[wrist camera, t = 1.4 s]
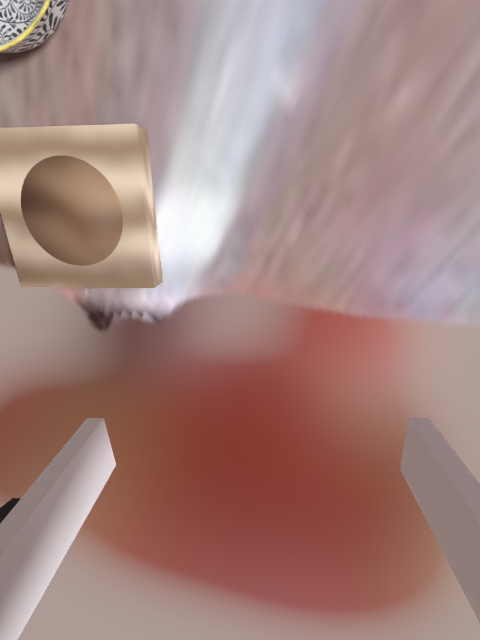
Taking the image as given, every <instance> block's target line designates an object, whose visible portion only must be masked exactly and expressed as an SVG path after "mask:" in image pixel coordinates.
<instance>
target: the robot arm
mask: <svg viewBox="0 0 480 640" xmlns="http://www.w3.org/2000/svg"><path fill="white" fill-rule="evenodd" d="M115 466H116V463H115V460H114V456H113V452H112V448H111V445H110V441H109V437H108V433H107V430H106V427H105V422H104V419H103V418H87V419H86V420H85V422H84V423H83V424H82V425H81V426H80V428H79V429H78V430H77V431H76V433H75V434H74V435H73V436H72V437H71V438H70V440H69V441H68V442H67V443H66V445H65V446H64V447H63V448H62V449H61V451H60V452H59V453H58V454H57V455H56V457H55V458H54V459H53V460H52V462H51V463H50V464H49V465H48V467H47V468H46V469H45V470H44V471H43V473H42V474H41V475H40V476H39V477H38V479H37V480H36V481H35V482H34V483H33V485H32V486H31V487H30V488H29V490H28V491H27V492H26V493H25V494H24V496H23V497H22V498H21V499H19V498H12V499H11V500H10V501H9V502H7V503H6V504H5V505H4V506H2V507H1V508H0V640H17V639H18V637H19V636H20V634H21V632H22V630H23V629H24V627H25V625H26V623H27V622H28V620H29V618H30V616H31V614H32V613H33V611H34V609H35V607H36V606H37V604H38V602H39V600H40V599H41V597H42V595H43V593H44V592H45V589H46V588H47V586H48V584H49V583H50V581H51V579H52V577H53V576H54V574H55V572H56V570H57V569H58V567H59V565H60V563H61V561H62V560H63V558H64V556H65V554H66V553H67V551H68V549H69V547H70V546H71V544H72V542H73V540H74V538H75V537H76V535H77V533H78V531H79V530H80V528H81V526H82V524H83V523H84V521H85V519H86V517H87V515H88V514H89V512H90V510H91V508H92V507H93V505H94V503H95V501H96V500H97V497H98V496H99V494H100V492H101V491H102V489H103V487H104V485H105V483H106V482H107V480H108V478H109V477H110V474H111V473H112V471H113V469H114V468H115ZM400 469H401V471H402V473H403V475H404V477H405V479H406V481H407V483H408V485H409V487H410V489H411V491H412V493H413V495H414V496H415V498H416V500H417V502H418V504H419V506H420V508H421V510H422V512H423V514H424V516H425V518H426V520H427V522H428V524H429V525H430V527H431V529H432V531H433V533H434V535H435V537H436V539H437V541H438V543H439V545H440V547H441V549H442V550H443V552H444V554H445V556H446V558H447V560H448V562H449V564H450V566H451V568H452V570H453V572H454V574H455V576H456V578H457V579H458V581H459V583H460V585H461V587H462V589H463V591H464V593H465V595H466V597H467V599H468V601H469V603H470V605H471V606H472V608H473V610H474V612H475V614H476V616H477V618H478V620H479V622H480V484H479V482H478V481H477V480H476V479H475V477H474V476H473V475H472V474H471V472H470V471H469V470H468V468H467V467H466V466H465V464H464V463H463V462H462V461H461V459H460V458H459V457H458V455H457V454H456V453H455V452H454V450H453V449H452V448H451V446H450V445H449V444H448V443H447V441H446V440H445V439H444V437H443V436H442V435H441V433H440V432H439V431H438V430H437V428H436V427H435V426H434V424H433V423H432V422H431V421H430V419H429V418H409V421H408V427H407V433H406V438H405V444H404V450H403V456H402V461H401V467H400Z"/></svg>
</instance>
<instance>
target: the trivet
mask: <svg viewBox="0 0 480 640" xmlns="http://www.w3.org/2000/svg"><path fill="white" fill-rule="evenodd" d="M0 213H1V216H2V220H3V224H4V227H5V231H6V234H7V238H8V242H9V245H10V249H11V252H12V256H13V260H14V263H15V267H16V270H17V274H18V277H19V281H20V284H21V287H104V288H155V287H156V286H157V285H159V284H160V283H161V282H162V273H161V263H160V254H159V244H158V235H157V225H156V216H155V206H154V196H153V187H152V177H151V168H150V158H149V149H148V139H147V131H146V130H144V129H143V128H141V127H140V126H138V125H136V124H111V125H78V126H46V127H14V128H0Z"/></svg>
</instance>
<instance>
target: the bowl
mask: <svg viewBox="0 0 480 640" xmlns="http://www.w3.org/2000/svg"><path fill="white" fill-rule="evenodd" d="M68 2H69V0H0V53H18V52H23V51H28V50H31V49H33V48H35V47H37V46H39V45H41V44H42V43H44V42H45V41H46V40H48V39H49V38H50V37H51V36H52V35H53V34H54V32H55V31H56V30H57V28H58V27H59V25H60V23H61V22H62V20H63V18H64V16H65V12H66V9H67V6H68Z"/></svg>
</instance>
